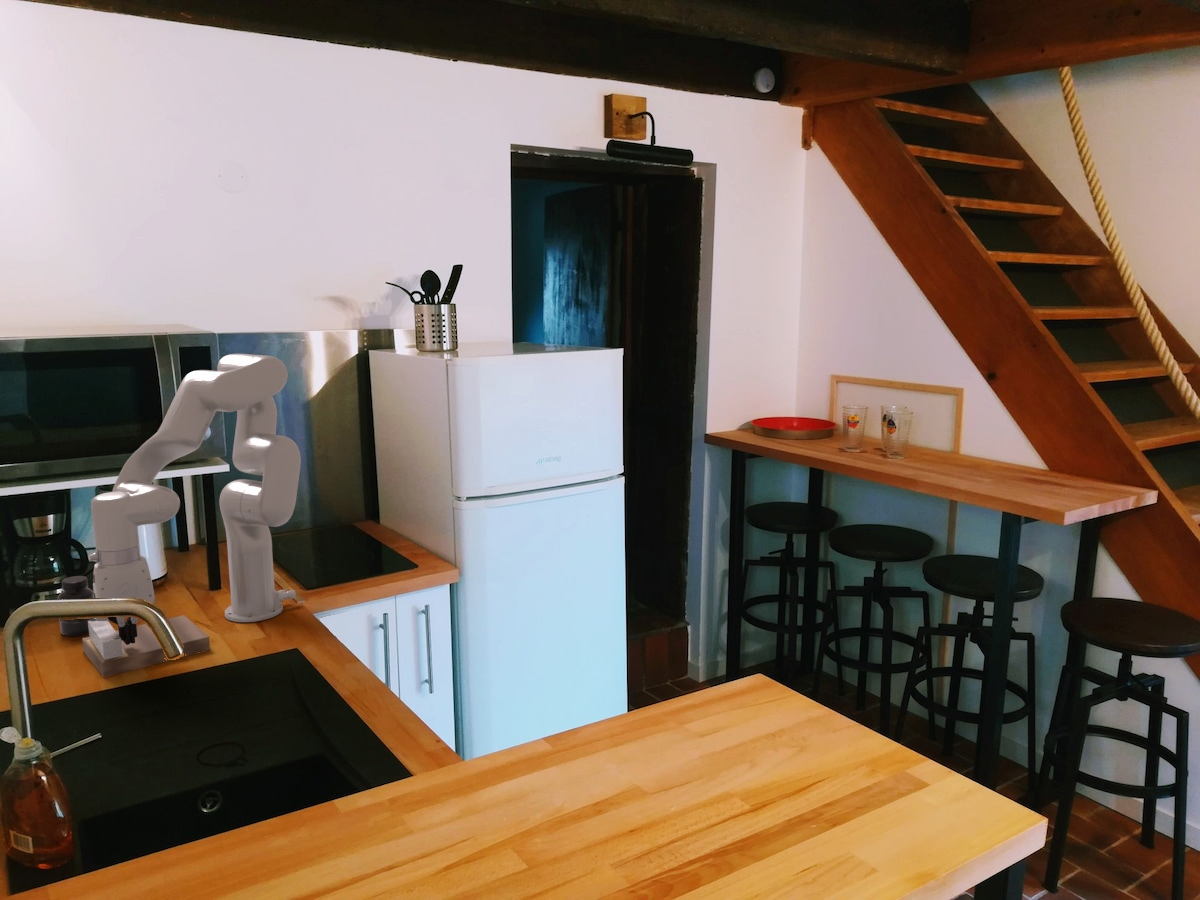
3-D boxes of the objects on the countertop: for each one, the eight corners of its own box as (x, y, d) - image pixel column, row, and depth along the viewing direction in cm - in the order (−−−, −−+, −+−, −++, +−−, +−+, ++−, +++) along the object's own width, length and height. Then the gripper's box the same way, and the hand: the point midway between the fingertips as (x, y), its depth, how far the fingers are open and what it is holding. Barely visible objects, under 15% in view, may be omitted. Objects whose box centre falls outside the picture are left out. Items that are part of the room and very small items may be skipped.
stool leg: (87, 636, 182) (86, 617, 182) (105, 632, 184) (103, 614, 184) (104, 660, 171) (102, 641, 170) (122, 656, 173) (120, 637, 172)
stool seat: (185, 627, 196) (183, 614, 196) (210, 650, 184) (208, 635, 184) (83, 652, 183) (82, 637, 182) (103, 677, 171) (102, 662, 171)
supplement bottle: (64, 640, 189) (58, 586, 187) (58, 630, 194) (52, 578, 192) (100, 632, 193) (94, 580, 191) (93, 623, 198) (88, 572, 196)
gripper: (80, 568, 166) (92, 658, 170) (165, 551, 176) (174, 637, 180) (71, 558, 171) (82, 646, 175) (153, 542, 181) (162, 626, 185)
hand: (128, 641), depth 177 cm, fingers closed
